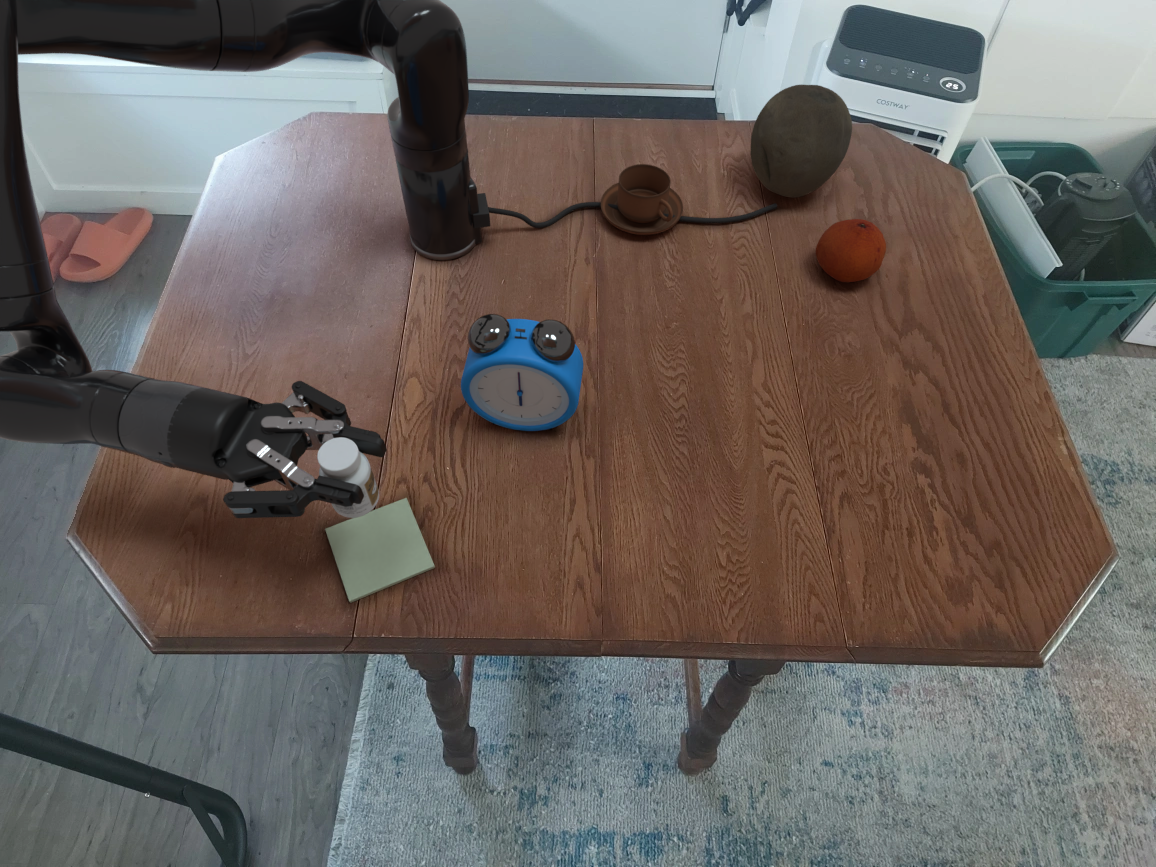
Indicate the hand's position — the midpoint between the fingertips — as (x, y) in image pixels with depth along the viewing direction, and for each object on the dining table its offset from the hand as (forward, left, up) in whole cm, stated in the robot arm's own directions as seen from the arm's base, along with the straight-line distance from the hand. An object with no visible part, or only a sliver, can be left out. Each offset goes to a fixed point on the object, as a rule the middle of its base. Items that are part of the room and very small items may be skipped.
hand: (371, 470), depth 65 cm
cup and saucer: (-49, -38, -17) cm, 64 cm away
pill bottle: (+2, -2, -6) cm, 7 cm away
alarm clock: (-19, -12, -17) cm, 28 cm away
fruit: (-69, -16, -17) cm, 73 cm away
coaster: (+2, -2, -16) cm, 17 cm away
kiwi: (-73, -35, -17) cm, 83 cm away
